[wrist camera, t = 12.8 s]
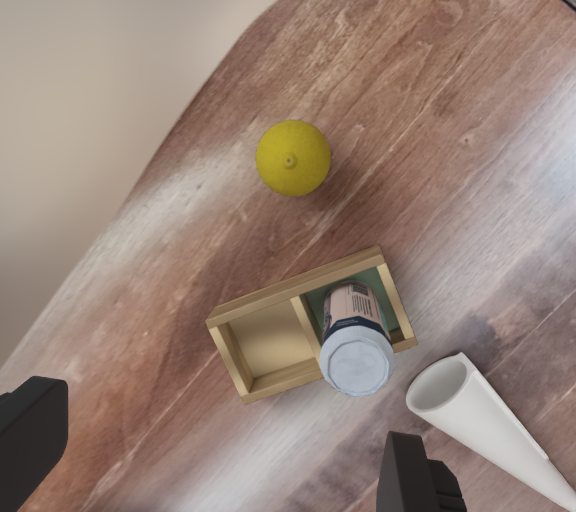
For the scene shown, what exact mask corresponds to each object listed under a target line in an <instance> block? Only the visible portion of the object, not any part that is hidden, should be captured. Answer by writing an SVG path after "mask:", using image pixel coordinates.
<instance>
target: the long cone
mask: <svg viewBox="0 0 576 512" xmlns="http://www.w3.org/2000/svg"><path fill="white" fill-rule="evenodd" d="M406 404H407V407H408V408H409V409H410V410H411V411H412V412H414V413H415V414H417V415H418V416H420V417H421V418H423V419H424V420H426V421H428V422H429V423H431V424H432V425H434V426H435V427H437V428H439V429H440V430H442V431H444V432H445V433H447V434H448V435H450V436H452V437H453V438H455V439H456V440H458V441H459V442H461V443H462V444H464V445H465V446H467V447H469V448H470V449H472V450H473V451H475V452H477V453H478V454H480V455H481V456H483V457H484V458H486V459H488V460H489V461H491V462H492V463H494V464H495V465H497V466H499V467H500V468H502V469H503V470H505V471H506V472H508V473H510V474H511V475H513V476H514V477H516V478H517V479H519V480H520V481H522V482H524V483H525V484H527V485H528V486H530V487H531V488H533V489H534V490H536V491H538V492H539V493H541V494H542V495H544V496H545V497H547V498H549V499H550V500H552V501H553V502H555V503H557V504H558V505H560V506H562V507H563V508H565V509H567V510H568V511H570V512H576V492H575V491H574V490H573V489H572V487H571V486H570V485H569V484H568V482H567V481H566V480H565V479H564V477H563V476H562V475H561V474H560V472H559V471H558V470H557V469H556V468H555V466H554V465H553V464H552V463H551V461H550V460H549V457H548V456H547V455H546V453H545V452H544V451H543V449H542V448H541V447H540V446H539V445H538V444H537V442H536V441H535V440H534V439H533V437H532V436H531V435H530V434H529V432H528V431H527V430H526V429H525V427H524V426H523V425H522V424H521V423H520V421H519V420H518V419H517V418H516V416H515V415H514V414H513V413H512V411H511V410H510V409H509V408H508V406H507V405H506V404H505V403H504V402H503V400H502V399H501V398H500V397H499V395H498V394H497V393H496V392H495V390H494V389H493V388H492V387H491V385H490V384H489V383H488V382H487V380H486V379H485V378H484V377H483V376H482V374H481V373H480V372H479V371H478V369H477V368H476V367H475V366H474V365H473V364H472V362H471V361H470V360H469V359H468V358H467V357H466V356H465V355H464V354H463V353H462V352H460V353H459V354H458V355H456V356H451V357H447V358H444V359H441V360H439V361H437V362H435V363H433V364H431V365H430V366H429V367H427V368H426V369H425V370H423V371H422V372H421V373H420V374H419V375H418V376H417V377H416V378H415V380H414V381H413V382H412V384H411V386H410V387H409V390H408V392H407V395H406Z"/></svg>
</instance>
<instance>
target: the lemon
mask: <svg viewBox="0 0 576 512" xmlns="http://www.w3.org/2000/svg"><path fill="white" fill-rule="evenodd" d="M330 163H331V152H330V148H329V145H328V142H327V140H326V139H325V137H324V135H323V134H322V133H321V132H320V131H319V130H318V129H317V128H316V127H314V126H313V125H311V124H309V123H307V122H304V121H300V120H287V121H283V122H280V123H278V124H276V125H274V126H272V127H271V128H270V129H269V130H268V131H267V132H265V134H264V135H263V137H262V138H261V140H260V141H259V144H258V147H257V150H256V166H257V170H258V172H259V175H260V177H261V179H262V180H263V181H264V183H265V184H266V185H267V186H268V187H269V188H271V189H272V190H273V191H275V192H277V193H279V194H282V195H287V196H301V195H304V194H307V193H310V192H311V191H313V190H314V189H316V188H317V187H318V186H319V185H320V184H321V183H322V182H323V181H324V179H325V177H326V175H327V173H328V171H329V167H330Z"/></svg>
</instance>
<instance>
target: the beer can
mask: <svg viewBox="0 0 576 512" xmlns="http://www.w3.org/2000/svg"><path fill="white" fill-rule="evenodd" d="M319 363H320V369H321V372H322V374H323V376H324V378H325V379H326V381H327V382H328V383H329V384H330V385H331V386H332V387H333V388H334V389H336V390H338V391H340V392H342V393H345V394H347V395H350V396H353V397H359V396H364V395H369V394H374V393H375V392H376V391H378V390H379V389H380V388H382V387H383V386H384V385H385V384H386V383H387V382H388V381H389V379H390V378H391V376H392V373H393V371H394V365H395V357H394V351H393V347H392V343H391V339H390V336H389V332H388V328H387V324H386V320H385V316H384V312H383V309H382V305H381V301H380V298H379V296H378V294H377V293H376V292H375V290H374V289H373V288H372V287H371V286H370V285H368V284H366V283H364V282H361V281H356V280H348V281H344V282H341V283H339V284H337V285H336V286H334V287H333V288H332V289H331V290H330V291H329V292H328V294H327V296H326V298H325V301H324V326H323V339H322V348H321V352H320V359H319Z"/></svg>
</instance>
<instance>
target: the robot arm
mask: <svg viewBox="0 0 576 512" xmlns="http://www.w3.org/2000/svg"><path fill="white" fill-rule="evenodd" d="M67 440H68V385H67V383H66V381H64V380H60V379H53V378H47V377H40V376H33V377H31V378H29V379H28V380H27V381H26V382H24V383H23V384H22V385H21V386H19V387H18V388H17V389H16V390H14V391H13V392H12V393H8V392H7V393H5V394H3V395H0V512H17V510H18V509H19V508H20V507H21V506H22V504H23V503H24V502H25V501H26V500H27V499H28V497H29V496H30V495H31V494H32V493H33V491H34V490H35V489H36V488H37V487H38V485H39V484H40V483H41V482H42V481H43V480H44V478H45V477H46V476H47V475H48V474H49V472H50V471H51V470H52V469H53V468H54V466H55V465H56V464H57V463H58V462H59V460H60V459H61V457H62V455H63V453H64V451H65V448H66V445H67ZM376 512H467V508H466V505H465V502H464V499H462V493H461V490H460V487H459V484H458V481H457V478H456V477H455V476H454V474H453V473H452V472H451V471H450V470H449V469H448V467H447V466H446V465H445V464H444V463H443V462H442V461H437V460H431V459H427V456H426V452H425V449H424V445H423V441H422V438H421V436H419V435H412V434H406V433H399V432H393V431H389V432H388V435H387V439H386V444H385V450H384V455H383V461H382V466H381V471H380V477H379V482H378V489H377V499H376Z"/></svg>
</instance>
